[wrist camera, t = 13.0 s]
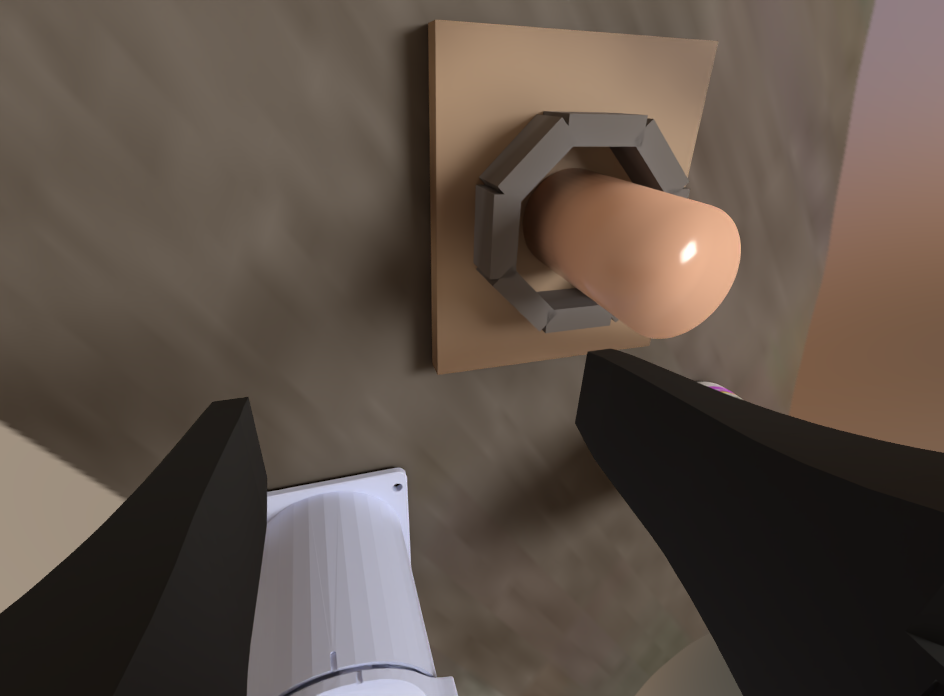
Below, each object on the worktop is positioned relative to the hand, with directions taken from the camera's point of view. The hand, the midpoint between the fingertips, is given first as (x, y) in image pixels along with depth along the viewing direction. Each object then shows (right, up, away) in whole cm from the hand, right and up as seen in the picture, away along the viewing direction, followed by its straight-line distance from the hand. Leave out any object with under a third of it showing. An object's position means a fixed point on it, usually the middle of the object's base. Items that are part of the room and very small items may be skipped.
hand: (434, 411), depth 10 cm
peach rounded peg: (+5, +7, +9) cm, 12 cm away
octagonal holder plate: (+4, +7, +10) cm, 13 cm away
